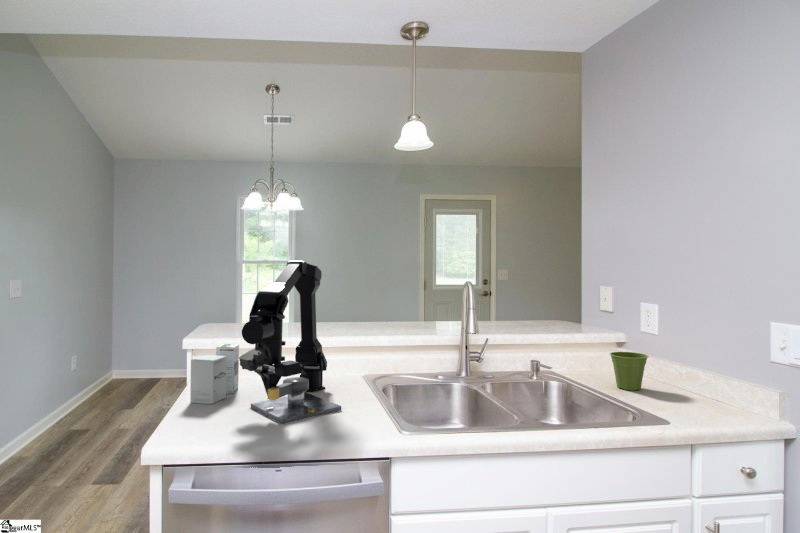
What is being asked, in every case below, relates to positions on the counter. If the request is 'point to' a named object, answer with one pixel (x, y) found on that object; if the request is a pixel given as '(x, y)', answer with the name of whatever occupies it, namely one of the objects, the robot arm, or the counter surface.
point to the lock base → (295, 407)
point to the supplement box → (208, 379)
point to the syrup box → (230, 365)
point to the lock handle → (288, 387)
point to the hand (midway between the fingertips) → (269, 396)
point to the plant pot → (629, 369)
